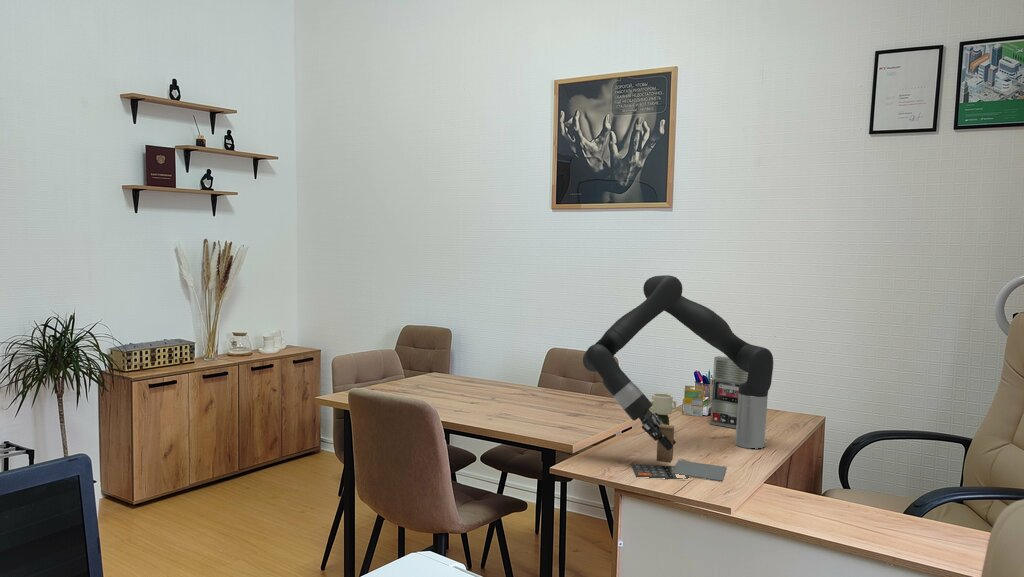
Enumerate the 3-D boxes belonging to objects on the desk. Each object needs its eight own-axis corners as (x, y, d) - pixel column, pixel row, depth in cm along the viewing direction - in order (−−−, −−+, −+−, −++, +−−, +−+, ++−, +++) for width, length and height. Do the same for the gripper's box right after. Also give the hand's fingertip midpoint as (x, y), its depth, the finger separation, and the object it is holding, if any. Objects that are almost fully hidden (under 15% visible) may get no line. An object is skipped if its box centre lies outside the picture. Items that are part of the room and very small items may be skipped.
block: (658, 457, 214) (660, 423, 213) (672, 459, 212) (674, 425, 211) (656, 461, 210) (658, 427, 209) (670, 462, 208) (672, 428, 208)
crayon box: (702, 415, 284) (704, 385, 283) (702, 416, 281) (704, 387, 280) (683, 413, 285) (684, 384, 285) (683, 414, 283) (684, 385, 282)
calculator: (631, 463, 212) (683, 466, 212) (631, 466, 212) (682, 469, 212) (636, 475, 201) (691, 478, 200) (636, 479, 201) (690, 482, 200)
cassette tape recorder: (709, 424, 268) (713, 357, 267) (714, 421, 273) (718, 356, 272) (746, 431, 260) (751, 362, 259) (751, 428, 265) (756, 360, 264)
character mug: (670, 428, 259) (672, 392, 258) (679, 434, 252) (681, 397, 251) (641, 429, 256) (643, 392, 255) (650, 434, 249) (652, 397, 248)
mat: (678, 461, 218) (678, 460, 218) (726, 468, 213) (726, 466, 213) (671, 474, 205) (671, 472, 205) (722, 481, 200) (722, 480, 200)
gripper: (637, 397, 206) (678, 444, 202) (646, 388, 219) (685, 433, 216) (618, 413, 208) (658, 460, 204) (628, 403, 221) (666, 448, 218)
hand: (672, 446), depth 210 cm, fingers closed on block, 4 cm apart
